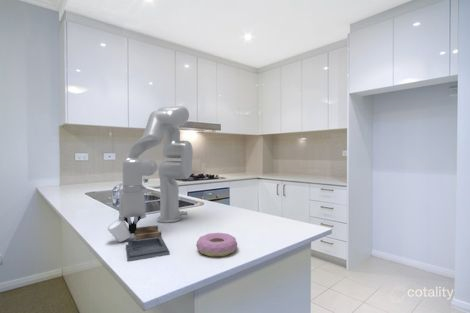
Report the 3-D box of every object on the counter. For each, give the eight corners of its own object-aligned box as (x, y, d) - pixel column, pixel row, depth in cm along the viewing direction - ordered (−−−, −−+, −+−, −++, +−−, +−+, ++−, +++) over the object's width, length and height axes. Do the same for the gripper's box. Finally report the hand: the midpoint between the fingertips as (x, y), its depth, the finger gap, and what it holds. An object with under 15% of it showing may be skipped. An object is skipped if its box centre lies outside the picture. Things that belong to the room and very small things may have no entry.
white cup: (124, 242, 104) (114, 229, 102) (113, 243, 107) (103, 230, 105) (135, 230, 109) (126, 217, 107) (124, 231, 113) (116, 219, 110)
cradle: (162, 241, 107) (162, 235, 107) (169, 254, 94) (169, 247, 94) (125, 247, 101) (125, 240, 101) (127, 261, 88) (127, 254, 88)
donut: (220, 240, 109) (221, 228, 109) (245, 251, 98) (245, 238, 98) (188, 249, 99) (188, 236, 99) (211, 263, 88) (211, 248, 87)
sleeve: (157, 231, 120) (157, 225, 120) (161, 239, 110) (161, 232, 110) (134, 234, 116) (134, 227, 116) (136, 242, 106) (136, 235, 106)
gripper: (149, 187, 116) (149, 228, 116) (112, 189, 109) (112, 232, 109) (152, 189, 109) (152, 233, 110) (113, 191, 102) (113, 238, 103)
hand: (132, 232), depth 110 cm, fingers closed
